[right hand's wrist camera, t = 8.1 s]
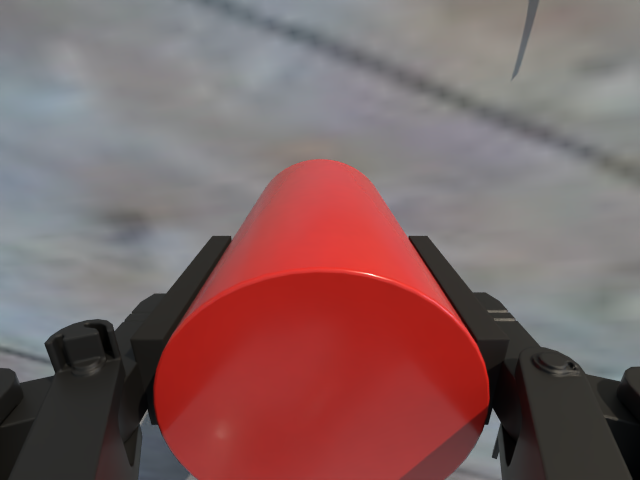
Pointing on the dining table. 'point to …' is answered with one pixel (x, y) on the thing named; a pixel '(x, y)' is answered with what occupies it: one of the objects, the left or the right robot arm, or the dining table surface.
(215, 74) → the dining table surface
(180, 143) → the dining table surface
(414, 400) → the can
